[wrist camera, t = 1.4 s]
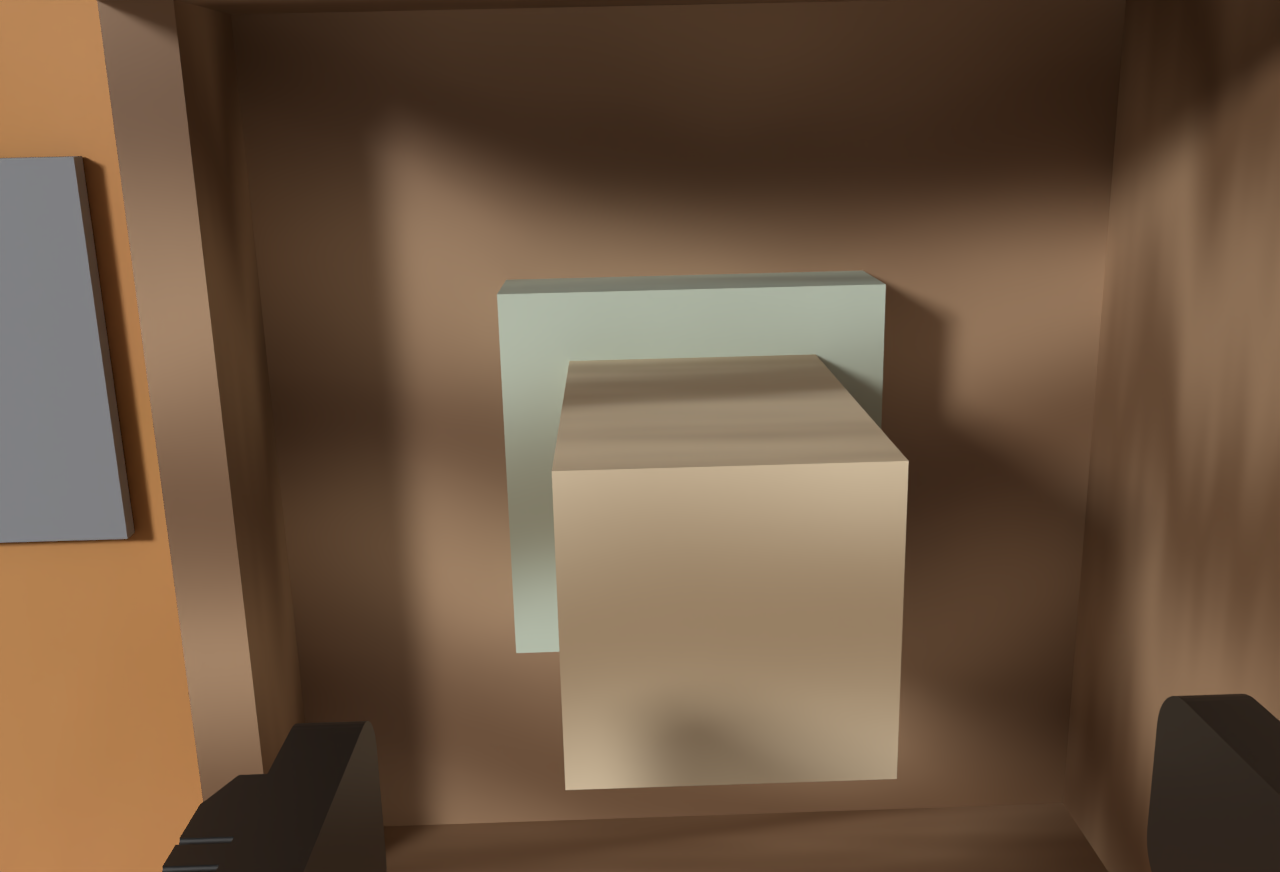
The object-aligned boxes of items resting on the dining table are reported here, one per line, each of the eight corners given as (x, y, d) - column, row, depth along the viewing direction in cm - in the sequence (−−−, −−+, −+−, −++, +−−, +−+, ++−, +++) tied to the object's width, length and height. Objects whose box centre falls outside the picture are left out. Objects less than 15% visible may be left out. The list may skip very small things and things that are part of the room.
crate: (185, -44, 23) (-120, -160, 13) (1160, -63, 23) (1548, -191, 14) (284, 838, 28) (114, 1216, 18) (1086, 811, 28) (1331, 1168, 19)
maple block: (569, 360, 22) (551, 471, 15) (815, 353, 22) (908, 460, 15) (578, 591, 23) (565, 790, 16) (811, 583, 23) (896, 778, 16)
